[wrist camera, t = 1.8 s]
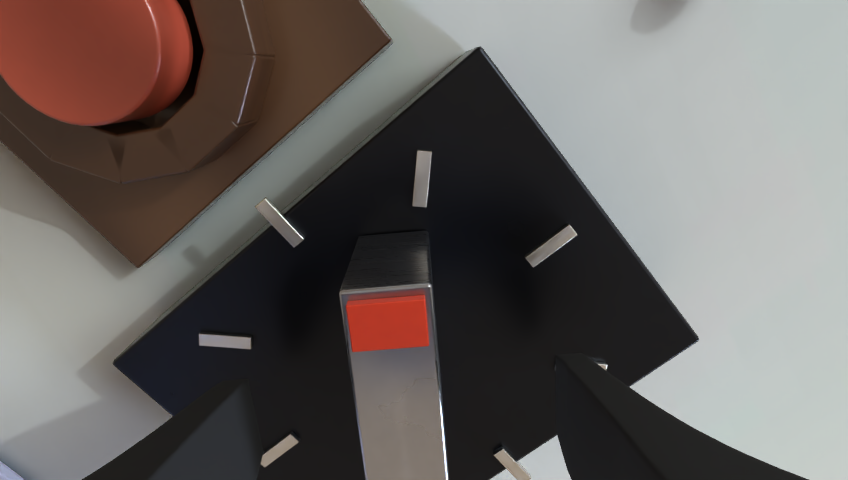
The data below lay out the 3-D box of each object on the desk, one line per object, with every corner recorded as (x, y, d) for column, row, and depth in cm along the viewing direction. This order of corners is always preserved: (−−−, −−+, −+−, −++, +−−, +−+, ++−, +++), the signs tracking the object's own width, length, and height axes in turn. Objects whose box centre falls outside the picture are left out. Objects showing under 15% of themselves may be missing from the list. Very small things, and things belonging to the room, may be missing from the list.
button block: (156, 255, 17) (102, 293, 14) (-60, 51, 15) (-175, 45, 12) (394, 42, 15) (388, 35, 12) (182, -225, 13) (115, -309, 10)
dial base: (372, 509, 20) (364, 587, 17) (146, 303, 17) (89, 352, 14) (664, 309, 18) (715, 358, 15) (455, 32, 15) (464, 22, 12)
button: (125, 149, 13) (83, 161, 11) (6, 30, 12) (-60, 24, 11) (226, 52, 12) (196, 49, 11) (106, -82, 12) (55, -108, 10)
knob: (447, 455, 16) (456, 573, 12) (386, 459, 16) (377, 579, 12) (428, 229, 13) (432, 289, 10) (358, 235, 13) (335, 296, 10)
